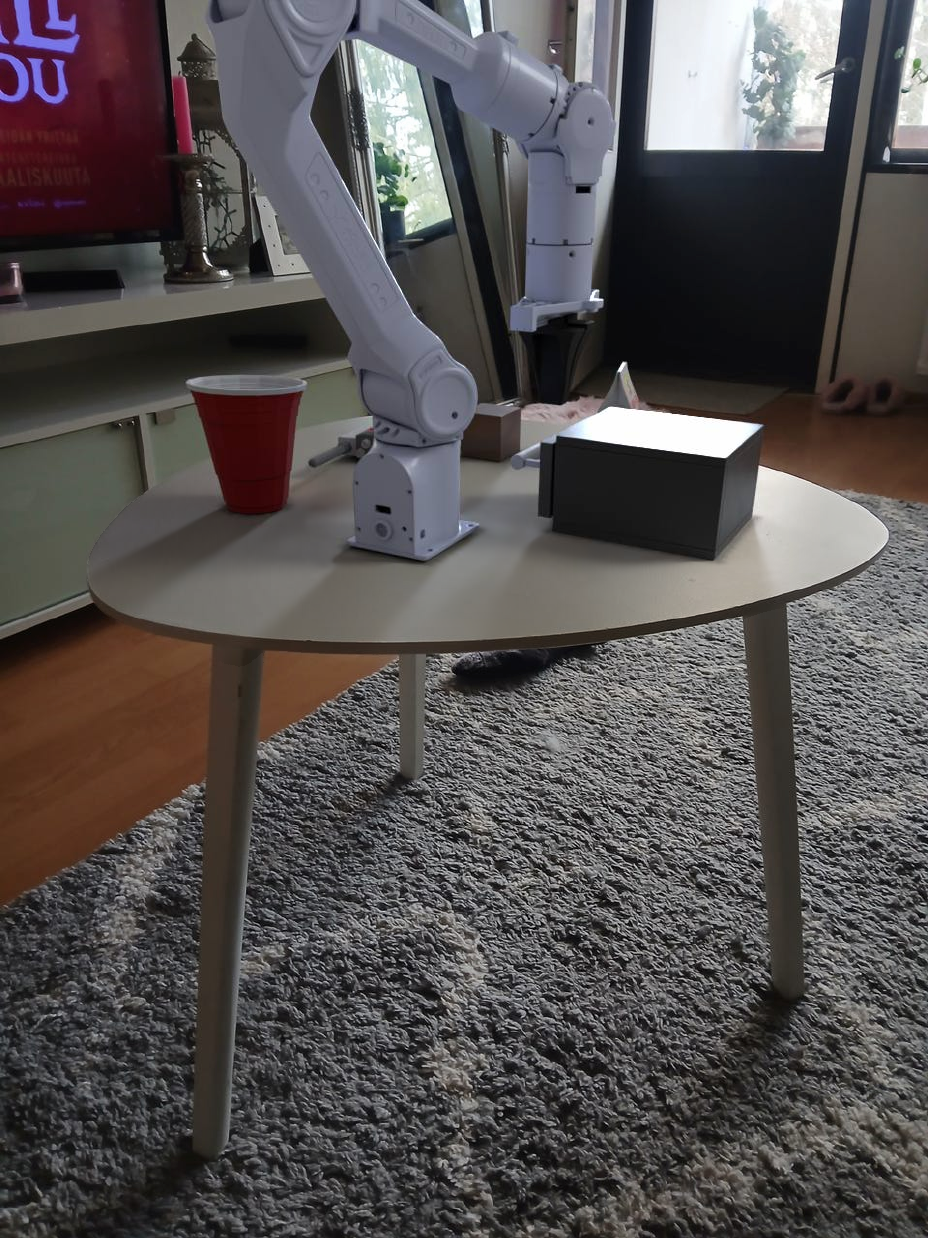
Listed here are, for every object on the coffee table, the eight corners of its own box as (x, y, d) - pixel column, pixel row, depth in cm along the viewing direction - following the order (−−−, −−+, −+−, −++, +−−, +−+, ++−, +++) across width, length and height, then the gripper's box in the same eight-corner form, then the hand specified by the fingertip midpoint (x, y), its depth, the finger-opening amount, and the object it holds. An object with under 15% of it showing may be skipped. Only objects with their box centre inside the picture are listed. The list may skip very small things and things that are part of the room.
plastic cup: (336, 495, 95) (329, 371, 90) (273, 529, 86) (262, 393, 81) (245, 482, 99) (233, 363, 94) (176, 513, 90) (159, 383, 85)
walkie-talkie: (386, 432, 118) (302, 475, 101) (385, 395, 116) (299, 434, 99) (452, 439, 115) (378, 485, 98) (452, 402, 113) (376, 442, 96)
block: (500, 461, 106) (501, 416, 104) (460, 455, 108) (460, 411, 106) (520, 451, 110) (521, 407, 108) (481, 445, 112) (481, 402, 110)
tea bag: (594, 465, 105) (600, 371, 101) (602, 449, 111) (607, 360, 107) (628, 467, 104) (635, 373, 100) (634, 451, 110) (641, 362, 106)
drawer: (495, 509, 88) (497, 435, 86) (547, 477, 98) (550, 410, 95) (684, 542, 81) (692, 462, 78) (721, 504, 90) (730, 432, 87)
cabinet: (551, 531, 86) (555, 435, 82) (604, 493, 96) (609, 406, 92) (714, 560, 79) (726, 458, 76) (752, 516, 89) (764, 424, 86)
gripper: (569, 250, 75) (561, 424, 81) (633, 239, 86) (623, 392, 92) (488, 247, 78) (486, 415, 84) (561, 237, 89) (555, 385, 95)
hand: (553, 403), depth 88 cm, fingers closed
